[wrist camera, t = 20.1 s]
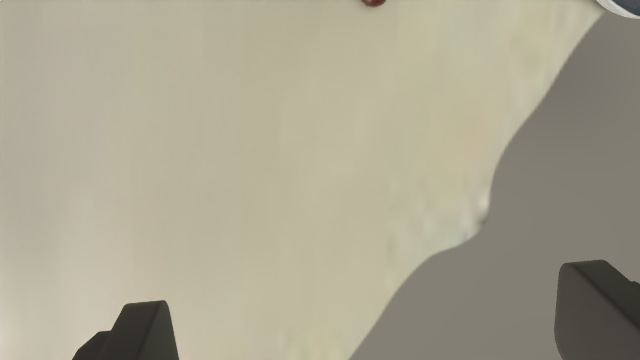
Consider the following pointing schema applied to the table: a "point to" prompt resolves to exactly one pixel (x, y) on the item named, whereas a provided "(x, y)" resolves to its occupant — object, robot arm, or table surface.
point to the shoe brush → (373, 2)
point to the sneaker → (622, 7)
